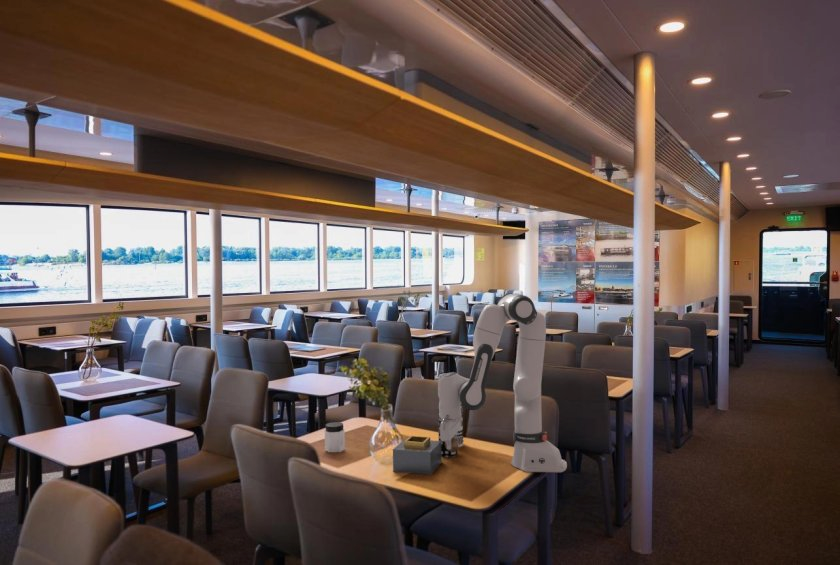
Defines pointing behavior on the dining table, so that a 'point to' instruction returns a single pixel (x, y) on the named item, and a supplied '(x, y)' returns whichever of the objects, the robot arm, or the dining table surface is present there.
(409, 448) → the blue-grey block
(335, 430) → the jar
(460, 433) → the black and white canister
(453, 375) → the robot arm
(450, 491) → the dining table surface
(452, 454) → the spotted tube
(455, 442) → the brown ball
